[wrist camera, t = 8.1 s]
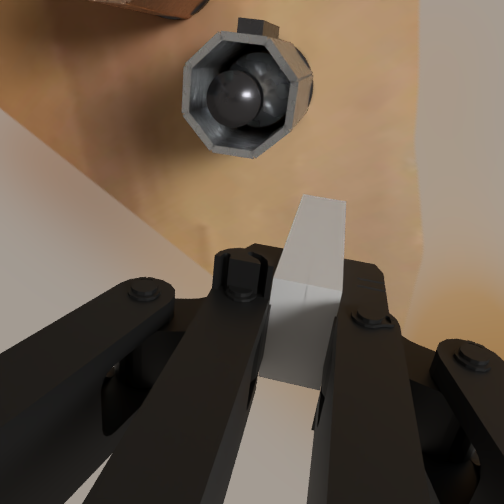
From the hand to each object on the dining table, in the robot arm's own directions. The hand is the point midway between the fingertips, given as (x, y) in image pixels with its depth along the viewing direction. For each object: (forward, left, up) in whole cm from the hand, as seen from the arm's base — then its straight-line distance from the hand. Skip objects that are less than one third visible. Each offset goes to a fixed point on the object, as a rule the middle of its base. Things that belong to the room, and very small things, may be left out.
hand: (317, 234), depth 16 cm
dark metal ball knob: (-8, +2, -29) cm, 30 cm away
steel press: (-8, +2, -34) cm, 35 cm away
